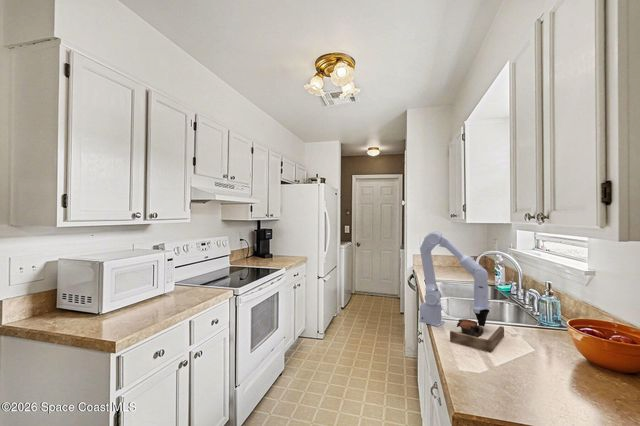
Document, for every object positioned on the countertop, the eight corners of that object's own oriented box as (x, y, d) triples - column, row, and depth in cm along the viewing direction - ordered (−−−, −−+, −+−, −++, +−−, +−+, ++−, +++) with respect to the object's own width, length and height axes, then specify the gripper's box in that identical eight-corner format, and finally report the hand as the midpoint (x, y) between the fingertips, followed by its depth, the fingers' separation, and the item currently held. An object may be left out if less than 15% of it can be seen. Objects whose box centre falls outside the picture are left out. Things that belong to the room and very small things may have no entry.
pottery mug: (450, 337, 127) (451, 317, 131) (465, 343, 130) (465, 324, 134) (477, 339, 117) (477, 318, 121) (491, 345, 121) (491, 325, 124)
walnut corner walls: (450, 341, 121) (449, 331, 121) (466, 327, 136) (466, 319, 136) (491, 352, 111) (490, 341, 111) (504, 336, 126) (503, 326, 126)
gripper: (486, 300, 125) (487, 332, 125) (495, 293, 136) (496, 323, 135) (468, 297, 130) (469, 328, 130) (478, 291, 141) (479, 320, 140)
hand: (481, 325), depth 133 cm, fingers closed
